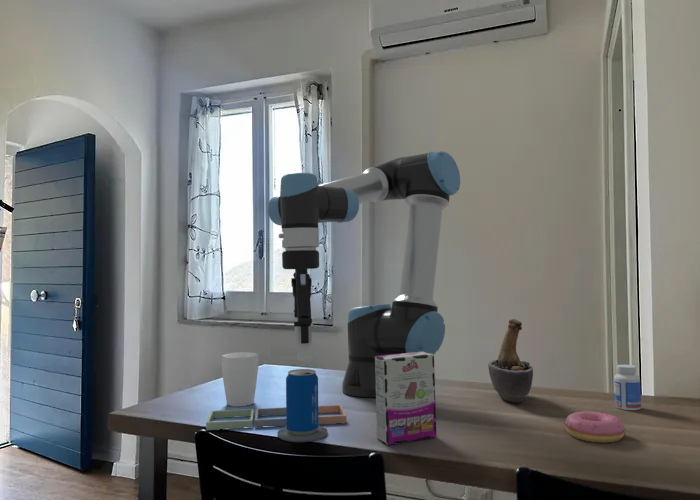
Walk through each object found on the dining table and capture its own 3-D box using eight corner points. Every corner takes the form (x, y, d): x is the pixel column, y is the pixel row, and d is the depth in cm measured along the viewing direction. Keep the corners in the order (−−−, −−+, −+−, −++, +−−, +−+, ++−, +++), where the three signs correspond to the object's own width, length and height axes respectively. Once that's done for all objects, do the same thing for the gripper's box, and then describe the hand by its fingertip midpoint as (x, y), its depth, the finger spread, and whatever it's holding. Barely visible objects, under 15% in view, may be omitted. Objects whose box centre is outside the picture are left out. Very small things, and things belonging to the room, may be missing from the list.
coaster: (324, 425, 119) (324, 423, 119) (329, 440, 109) (329, 437, 109) (277, 428, 117) (277, 425, 118) (277, 443, 108) (277, 440, 108)
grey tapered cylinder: (250, 408, 134) (250, 358, 134) (215, 407, 136) (215, 357, 136) (264, 399, 143) (263, 352, 143) (230, 398, 144) (230, 351, 145)
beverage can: (305, 438, 109) (305, 376, 109) (279, 432, 112) (279, 372, 112) (324, 429, 114) (324, 370, 115) (299, 424, 118) (298, 367, 118)
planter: (524, 410, 129) (522, 323, 129) (465, 398, 142) (463, 319, 142) (556, 399, 139) (555, 319, 139) (498, 389, 151) (497, 314, 152)
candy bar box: (424, 431, 114) (422, 350, 115) (437, 438, 110) (435, 354, 110) (374, 438, 110) (373, 354, 110) (386, 446, 105) (385, 358, 106)
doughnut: (638, 442, 106) (638, 420, 107) (590, 448, 103) (590, 425, 103) (598, 426, 117) (597, 406, 117) (553, 431, 114) (552, 410, 114)
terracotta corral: (341, 411, 130) (341, 404, 130) (346, 423, 121) (346, 415, 121) (300, 413, 129) (300, 406, 129) (302, 425, 119) (302, 417, 119)
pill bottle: (644, 407, 130) (643, 365, 131) (637, 412, 127) (636, 369, 127) (619, 403, 134) (618, 363, 134) (611, 408, 130) (610, 366, 130)
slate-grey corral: (298, 413, 129) (297, 406, 129) (299, 425, 119) (299, 418, 119) (256, 415, 127) (256, 408, 128) (254, 427, 118) (254, 420, 118)
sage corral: (253, 415, 127) (253, 408, 127) (252, 428, 118) (252, 420, 118) (211, 417, 126) (211, 410, 126) (206, 430, 117) (206, 422, 117)
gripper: (281, 250, 126) (283, 345, 126) (282, 249, 101) (285, 366, 101) (314, 249, 127) (316, 343, 127) (324, 248, 102) (327, 364, 102)
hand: (303, 354), depth 114 cm, fingers open, 13 cm apart
